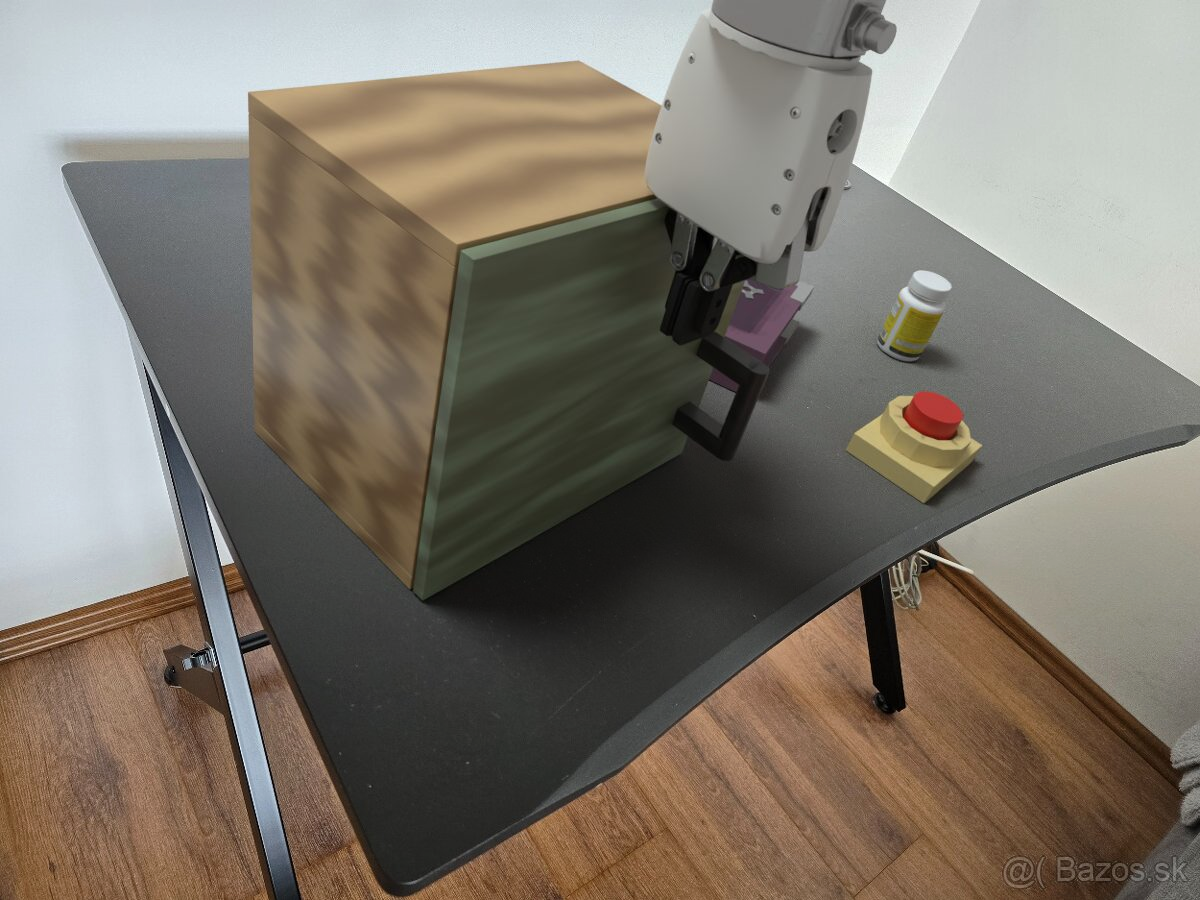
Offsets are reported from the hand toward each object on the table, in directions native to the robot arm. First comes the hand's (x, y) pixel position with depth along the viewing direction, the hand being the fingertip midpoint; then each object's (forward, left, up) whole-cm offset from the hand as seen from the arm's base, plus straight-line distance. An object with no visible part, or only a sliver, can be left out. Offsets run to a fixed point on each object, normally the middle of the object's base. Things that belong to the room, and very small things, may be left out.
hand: (685, 333), depth 54 cm
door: (+1, +2, -17) cm, 18 cm away
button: (-8, -30, -14) cm, 34 cm away
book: (+20, -27, -18) cm, 38 cm away
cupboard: (+14, +2, -18) cm, 22 cm away
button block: (-8, -30, -18) cm, 36 cm away
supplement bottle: (+2, -46, -18) cm, 50 cm away
